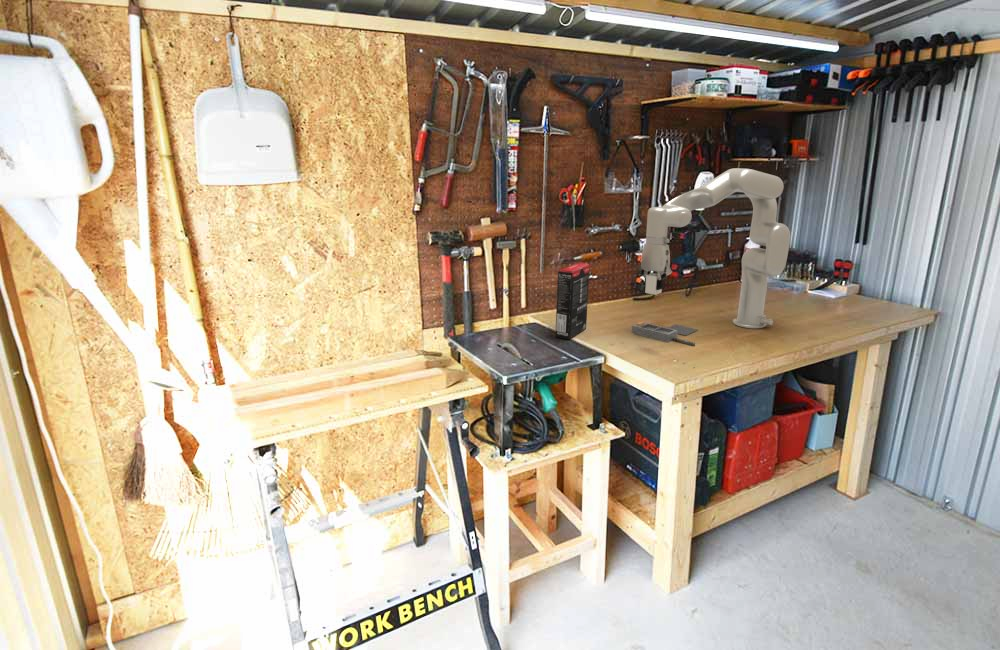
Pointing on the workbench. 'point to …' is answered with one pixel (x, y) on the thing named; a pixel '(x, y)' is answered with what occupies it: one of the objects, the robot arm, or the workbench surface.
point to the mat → (683, 329)
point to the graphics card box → (572, 300)
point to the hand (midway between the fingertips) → (653, 287)
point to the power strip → (658, 333)
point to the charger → (652, 284)
